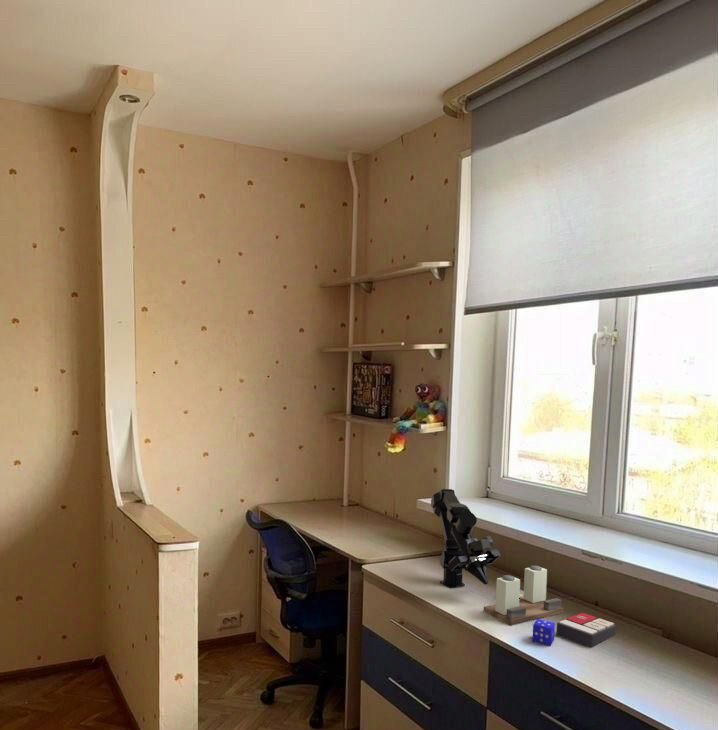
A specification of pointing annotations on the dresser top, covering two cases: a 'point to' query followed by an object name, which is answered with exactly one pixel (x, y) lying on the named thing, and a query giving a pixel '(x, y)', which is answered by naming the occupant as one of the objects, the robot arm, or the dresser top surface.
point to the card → (521, 594)
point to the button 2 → (535, 584)
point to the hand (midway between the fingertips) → (486, 583)
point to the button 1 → (507, 593)
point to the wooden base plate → (527, 611)
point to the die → (543, 632)
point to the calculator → (586, 629)
